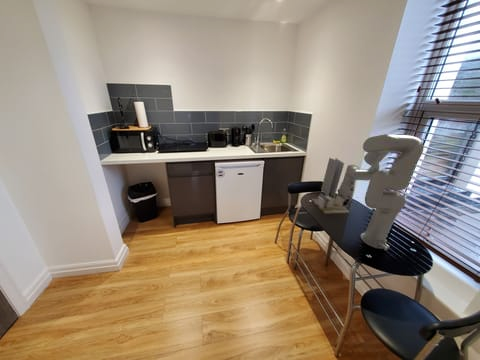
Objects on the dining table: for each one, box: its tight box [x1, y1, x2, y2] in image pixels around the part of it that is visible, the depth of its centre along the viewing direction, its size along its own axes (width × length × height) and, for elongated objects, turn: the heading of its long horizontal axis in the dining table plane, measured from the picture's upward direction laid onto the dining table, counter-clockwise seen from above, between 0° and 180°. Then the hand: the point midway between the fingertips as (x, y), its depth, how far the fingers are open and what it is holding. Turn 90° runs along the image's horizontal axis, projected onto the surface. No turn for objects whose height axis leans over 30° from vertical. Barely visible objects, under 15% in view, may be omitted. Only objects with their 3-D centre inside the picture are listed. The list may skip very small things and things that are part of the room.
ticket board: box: [311, 197, 350, 215], centre depth 141 cm, size 19×19×1 cm
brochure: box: [321, 157, 345, 198], centre depth 156 cm, size 14×6×30 cm, turn 179°
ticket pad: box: [317, 193, 335, 209], centre depth 139 cm, size 10×9×7 cm
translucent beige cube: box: [335, 195, 349, 207], centre depth 142 cm, size 6×6×6 cm
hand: (341, 203), depth 142 cm, fingers closed on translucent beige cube, 6 cm apart
